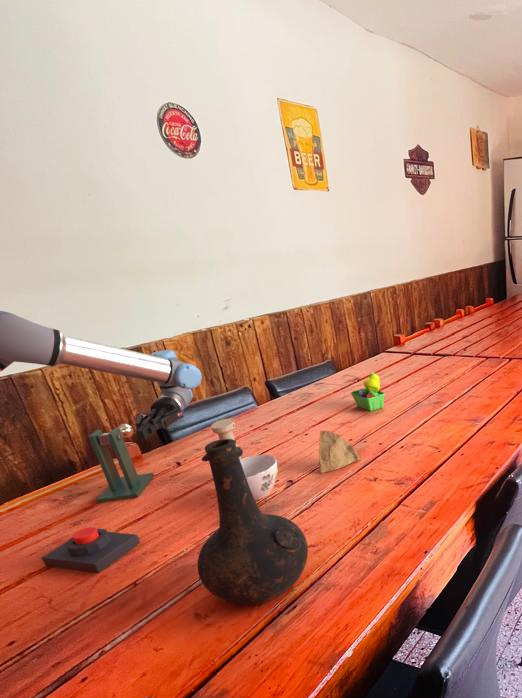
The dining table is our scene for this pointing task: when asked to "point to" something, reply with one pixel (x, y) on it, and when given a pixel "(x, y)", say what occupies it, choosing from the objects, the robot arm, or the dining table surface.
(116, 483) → the bracket
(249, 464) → the teacup
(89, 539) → the button
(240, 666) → the dining table surface
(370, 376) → the fruit basket
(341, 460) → the rock
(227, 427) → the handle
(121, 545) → the control block
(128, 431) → the lever
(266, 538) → the glass bottle
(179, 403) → the robot arm
